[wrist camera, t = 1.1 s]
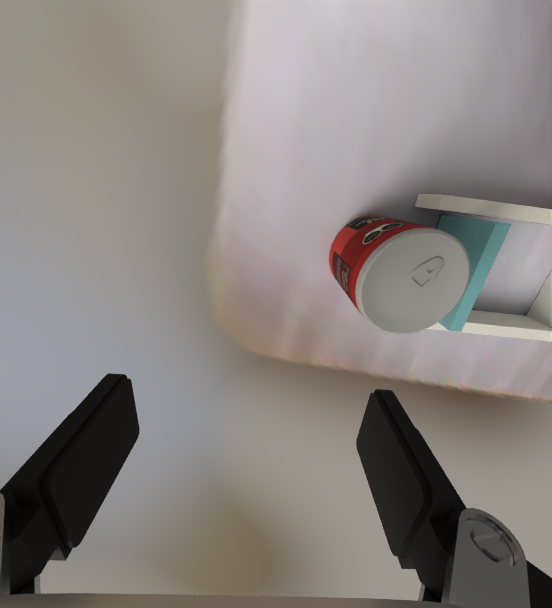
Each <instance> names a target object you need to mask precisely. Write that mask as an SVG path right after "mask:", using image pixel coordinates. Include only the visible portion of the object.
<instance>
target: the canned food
mask: <svg viewBox="0 0 552 608" xmlns="http://www.w3.org/2000/svg"><path fill="white" fill-rule="evenodd" d="M329 264H330V269H331V272H332V274H333V275H334V277H335V279H336V280H337V281H338V283H339V284H340V286H341V287H342V288H343V290H344V291H345V293H346V294H347V295H348V297H349V298H350V300H351V301H352V303H353V304H354V305H355V307H356V308H357V310H358V311H359V312H360V313H361V315H362V316H363V317H364V318H365V319H366V320H367V321H368V322H369V323H370V324H371V325H372V326H374V327H375V328H377V329H379V330H381V331H384V332H386V333H391V334H410V333H414V332H418V331H421V330H424V329H427V328H429V327H431V326H432V325H434V324H436V323H438V322H439V321H440V320H442V319H443V318H444V317H446V316H447V315H448V314H449V313H450V312H451V311H452V310H453V309H454V308H455V307H456V305H457V304H458V302H459V301H460V300H461V298H462V296H463V294H464V293H465V291H466V288H467V285H468V282H469V279H470V270H471V267H470V259H469V256H468V253H467V251H466V249H465V247H464V246H463V245H462V243H461V242H460V241H459V240H457V239H456V238H455V237H454V236H452V235H450V234H448V233H446V232H443V231H441V230H439V229H434V228H431V227H427V226H422V225H418V224H413V223H408V222H404V221H399V220H395V219H390V218H385V217H380V216H366V217H362V218H359V219H356V220H354V221H352V222H351V223H349V224H348V225H346V226H345V227H344V228H343V229H342V230H341V231H340V232H339V234H338V235H337V236H336V238H335V240H334V242H333V244H332V246H331V250H330V255H329Z"/></svg>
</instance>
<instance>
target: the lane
mask: <svg viewBox="0 0 552 608" xmlns="http://www.w3.org/2000/svg"><path fill="white" fill-rule="evenodd" d="M414 207H420V208H427V209H435V210H442V211H450V212H457V213H465V214H473V215H480V216H488V217H495V218H503V219H510V220H518V221H525V222H533V223H540V224H548V225H552V209H546V208H538V207H531V206H524V205H516V204H509V203H502V202H494V201H487V200H480V199H472V198H465V197H458V196H450V195H443V194H418V197H417V200H416V203H415V206H414ZM427 329H435V330H445V331H449V330H447V329H446V328H445V327H444V326H442V325H441V324H440V323H439V322H438V323H436V324H434V325H432V326H431V327H429V328H427ZM455 332H458V331H455ZM461 332H464V333H474V334H484V335H494V336H503V337H513V338H523V339H532V340H542V341H552V271H551V273H550V274H549V276H548V278H547V280H546V281H545V283H544V285H543V287H542V289H541V290H540V292H539V294H538V296H537V297H536V299H535V301H534V303H533V304H532V306H531V308H530V310H529V312H528V313H527V315H526V316H524V315H514V314H505V313H496V312H487V311H478V310H471V312H470V314H469V316H468V318H467V320H466V323H465V325H464V327H463V329H462V331H461Z"/></svg>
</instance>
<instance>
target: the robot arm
mask: <svg viewBox="0 0 552 608" xmlns="http://www.w3.org/2000/svg"><path fill="white" fill-rule="evenodd" d="M138 435H139V424H138V418H137V412H136V407H135V400H134V395H133V388H132V383H131V380H130V379H127V376H126V375H124V374H107V375H106V376H105V377H104V378H103V379H102V380H101V381H100V382H99V383H98V384H97V386H96V387H95V388H94V389H93V390H92V391H91V392H90V393H89V394H88V396H87V397H86V398H85V399H84V400H83V401H82V402H81V403H80V404H79V405H78V407H77V408H76V409H75V410H74V411H73V412H72V413H70V414H69V415H68V416H67V418H66V419H65V420H64V421H63V422H62V423H61V424H60V425H59V427H57V429H56V430H55V431H54V432H53V433H52V434H51V435H50V436H49V437H48V438H47V440H46V441H45V442H44V443H43V444H42V445H41V446H40V447H39V448H38V450H36V452H35V453H34V454H33V455H32V456H31V457H30V458H29V459H28V460H27V461H26V463H25V464H24V465H23V466H22V467H21V468H20V469H19V470H18V472H16V474H15V475H14V476H13V477H12V478H11V479H10V480H9V481H8V483H6V485H5V486H4V487H3V488H2V489H1V490H0V608H552V578H551V577H549V576H548V575H547V574H545V573H544V572H542V571H541V570H539V569H538V568H537V567H535V566H534V565H533V564H531V563H530V562H528V561H527V560H526V558H525V554H524V551H523V549H522V547H521V546H520V544H519V542H518V540H517V539H516V538H515V536H514V535H513V534H512V533H511V532H510V530H509V529H508V528H507V527H506V526H504V525H503V523H501V522H500V521H499V520H497V519H496V518H495V517H493V516H492V515H490V514H488V513H486V512H484V511H482V510H479V509H475V508H466V507H465V505H464V503H463V502H462V500H461V499H460V497H459V495H458V494H457V492H456V490H455V489H454V487H453V486H452V484H451V482H450V481H449V479H448V478H447V476H446V474H445V473H444V471H443V470H442V468H441V466H440V464H439V463H438V461H437V460H436V458H435V456H434V455H433V453H432V451H431V450H430V448H429V447H428V445H427V443H426V442H425V440H424V439H423V437H422V435H421V434H420V432H419V431H418V430H417V429H416V428H415V427H414V425H413V424H412V422H411V420H410V419H409V417H408V415H407V414H406V412H405V410H404V409H403V407H402V405H401V404H400V402H399V401H398V399H397V397H396V396H395V394H394V393H393V391H391V390H381V389H377V390H375V392H374V393H371V394H370V397H369V401H368V404H367V407H366V410H365V414H364V417H363V421H362V424H361V427H360V430H359V434H358V437H357V442H356V444H357V450H358V453H359V456H360V459H361V462H362V465H363V468H364V471H365V474H366V477H367V480H368V483H369V486H370V489H371V492H372V495H373V498H374V501H375V504H376V507H377V510H378V513H379V516H380V519H381V522H382V526H383V529H384V531H385V535H386V537H387V540H388V544H389V547H390V549H391V551H392V553H393V555H394V556H397V557H398V559H399V562H400V565H401V568H402V569H416V571H417V574H418V576H419V579H420V582H421V583H422V584H421V589H420V594H419V599H418V601H412V600H391V599H369V598H366V599H365V598H327V597H287V596H234V595H179V594H177V595H176V594H173V595H172V594H96V593H95V594H94V593H93V594H92V593H73V594H72V593H69V594H41V593H40V573H41V572H42V570H43V569H44V567H45V565H46V564H47V562H48V561H49V560H66V559H67V557H68V555H69V554H70V552H71V550H72V548H73V547H77V546H78V545H79V544H80V543H81V541H82V540H83V538H84V536H85V534H86V532H87V530H88V528H89V527H90V525H91V523H92V521H93V519H94V518H95V516H96V514H97V512H98V510H99V508H100V506H101V505H102V503H103V501H104V499H105V497H106V496H107V493H108V492H109V490H110V488H111V486H112V484H113V483H114V481H115V479H116V477H117V475H118V473H119V472H120V470H121V468H122V466H123V464H124V462H125V461H126V459H127V457H128V455H129V453H130V451H131V449H132V448H133V446H134V444H135V442H136V440H137V438H138Z"/></svg>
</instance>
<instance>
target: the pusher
mask: <svg viewBox="0 0 552 608" xmlns="http://www.w3.org/2000/svg"><path fill="white" fill-rule="evenodd" d="M510 226H511V224H507V223H500V222H492V221H485V220H478V219H470V218H463V217H455V216H448V215H442V216H441V218H440V221H439V224H438V227H437V229H439V230H441V231H443V232H446V233H448V234H450V235H452V236H454V237H455V238H456V239H457V240H459V241H460V242H461V243H462V245H463V246H464V247H465V249H466V251H467V253H468V256H469V259H470V267H471V270H470V279H469V282H468V285H467V288H466V291H465V293H464V294H463V296H462V298H461V300H460V301H459V302H458V304H457V305H456V307H455V308H454V309H453V310H452V311H451V312H450V313H449V314H448V315H447V316H446V317H444V318H443V319H442V320H440V321H439V323H440V324H441V325H442V326H444V327H445V328H446V329H447V330H449V331H458V332H461V331H462V329H463V327H464V325H465V323H466V320H467V318H468V316H469V314H470V312H471V310H472V307H473V305H474V303H475V301H476V299H477V297H478V295H479V292H480V290H481V288H482V286H483V284H484V282H485V280H486V277H487V275H488V273H489V271H490V269H491V267H492V264H493V262H494V260H495V258H496V256H497V254H498V252H499V249H500V247H501V245H502V243H503V241H504V239H505V237H506V234H507V232H508V230H509V228H510Z"/></svg>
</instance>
